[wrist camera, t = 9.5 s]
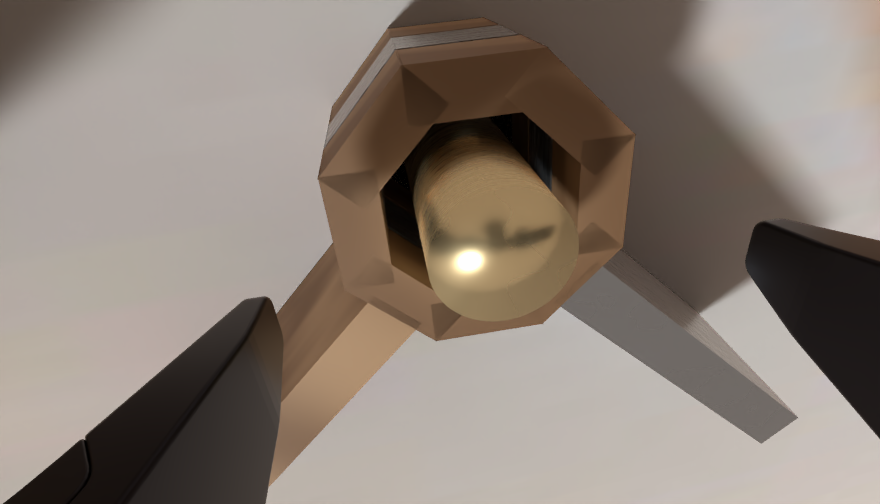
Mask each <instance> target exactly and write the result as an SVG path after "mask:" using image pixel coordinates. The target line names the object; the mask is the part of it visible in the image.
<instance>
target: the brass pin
mask: <svg viewBox="0 0 880 504" xmlns="http://www.w3.org/2000/svg"><path fill="white" fill-rule="evenodd" d="M404 163H405V168H406V173H407V177H408V182H409V187H410V191H411V196H412V201H413V205H414V210H415V215H416V219H417V224H418V229H419V233H420V238H421V243H422V247H423V252H424V257H425V262H426V266H427V271H428V276H429V280H430V283H431V285H432V288H433V290H434V291H435V293H436V295H437V296H438V297H439V299H440V300H441V301H442V302H443V303H444V304H445V305H446V306H447V307H449V308H450V309H451V310H453V311H454V312H456V313H458V314H460V315H462V316H465V317H468V318H471V319H475V320H480V321H504V320H510V319H514V318H518V317H521V316H524V315H526V314H529V313H531V312H533V311H535V310H537V309H538V308H540V307H542V306H543V305H545V304H546V303H547V302H549V301H550V300H551V299H552V298H553V297H555V296H556V295H557V294H558V292H559V291H560V290H561V289H562V288H563V287H564V285H565V284H566V283H567V281H568V280H569V278H570V276H571V274H572V272H573V270H574V267H575V265H576V261H577V258H578V251H579V238H578V233H577V229H576V226H575V223H574V221H573V219H572V218H571V216H570V214H569V213H568V212H567V210H566V209H565V208H564V207H563V205H562V204H561V203H560V202H559V201H558V199H557V198H556V197H555V196H554V195H553V193H552V192H551V191H550V190H549V188H548V187H547V186H546V185H545V184H544V182H543V181H542V180H541V179H540V178H539V176H538V175H537V174H536V173H535V171H534V170H533V169H532V168H531V167H530V165H529V164H528V163H527V162H526V161H525V159H524V158H523V157H522V156H521V155H520V153H519V152H518V151H517V150H516V148H515V147H514V146H513V145H512V144H511V142H510V141H509V140H508V139H507V138H506V136H505V135H504V134H503V133H502V131H501V130H500V129H499V128H498V127H497V125H496V124H495V123H494V122H493V121H492V119H491V118H490V117H482V118H474V119H467V120H459V121H452V122H444V123H437V124H433V125H432V126H431V128H430V129H429V130H428V131H427V133H426V134H425V135H424V136H423V138H422V139H421V140H420V141H419V143H418V144H417V145H416V146H415V148H414V149H413V150H412V151H411V153H410V154H409V155H408V156H407V158H406V159H405V160H404Z"/></svg>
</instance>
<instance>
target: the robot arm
mask: <svg viewBox="0 0 880 504" xmlns="http://www.w3.org/2000/svg"><path fill="white" fill-rule="evenodd" d="M745 264H746V269H747V271H748V273H749V275H750V276H751V278H752V279H753V280H754V282H755V283H756V285H757V286H758V288H759V289H760V291H761V292H762V293H763V295H764V296H765V298H766V299H767V301H768V302H769V304H770V305H771V306H772V308H773V309H774V311H775V312H776V314H777V315H778V317H779V318H780V319H781V321H782V322H783V324H784V325H785V327H786V328H787V329H788V331H789V332H790V333H791V335H792V336H793V337H794V338H795V340H796V341H797V342H798V343H799V345H800V346H801V347H802V348H803V349H804V351H805V352H806V353H807V354H808V355H809V356H810V358H811V359H812V360H813V361H814V362H815V363H816V365H817V366H818V367H819V368H820V369H821V371H822V372H823V373H824V374H825V375H826V376H827V378H828V379H829V380H830V381H831V382H832V383H833V385H834V386H835V387H836V388H837V389H838V390H839V392H840V393H841V394H842V395H843V396H844V398H845V399H846V400H847V401H848V402H849V403H850V405H851V406H852V407H853V408H854V409H855V410H856V412H857V413H858V414H859V415H860V416H861V417H862V419H863V420H864V421H865V422H866V423H867V424H868V426H869V427H870V428H871V429H872V430H873V432H874V433H875V434H876V435H877V436H878V437H879V439H880V241H879V240H874V239H870V238H866V237H861V236H857V235H852V234H848V233H843V232H839V231H835V230H830V229H826V228H821V227H817V226H812V225H808V224H804V223H799V222H795V221H790V220H786V219H774V220H767V221H762V222H759V223H758V224H757V225H756V226H755V227H754V229H753V232H752V236H751V240H750V244H749V248H748V251H747V255H746V260H745ZM283 350H284V340H283V334H282V331H281V328H280V324H279V321H278V318H277V315H276V312H275V309H274V306H273V303H272V301H271V300H270V298H268V297H266V296H264V297H257V298H250V299H246V300H244V301H242V302H241V303H240V304H239V305H237V306H236V307H235V308H234V309H233V310H232V311H230V312H229V313H228V314H227V315H226V316H225V317H223V318H222V319H221V320H220V321H219V322H218V323H216V324H215V325H214V326H213V327H212V328H211V329H209V330H208V331H207V332H206V333H205V334H204V335H202V336H201V337H200V338H199V339H198V340H197V341H195V342H194V343H193V344H192V345H191V346H190V347H188V348H187V349H186V350H185V351H184V352H183V353H181V354H180V355H179V356H178V357H177V358H176V359H174V360H173V361H172V362H171V363H170V364H169V365H167V366H166V367H165V368H164V369H163V370H161V371H160V372H159V373H158V374H157V375H156V376H154V377H153V378H152V379H151V380H150V381H149V382H147V383H146V384H145V385H144V386H143V387H142V388H140V389H139V390H138V391H137V392H136V393H135V394H133V395H132V396H131V397H130V398H129V399H128V400H126V401H125V402H124V403H123V404H122V405H121V406H119V407H118V408H117V409H116V410H115V411H113V412H112V413H111V414H110V415H109V416H108V417H106V418H105V419H104V420H103V421H102V422H101V423H99V424H98V425H97V426H96V427H95V428H94V429H92V430H91V431H90V432H89V433H88V434H87V435H86V436H85V440H84V439H82V440H79V441H78V442H77V443H76V444H75V445H74V446H72V447H71V448H70V449H69V450H68V451H67V452H65V453H64V454H63V455H62V456H61V457H60V458H58V459H57V460H56V461H55V462H54V463H52V464H51V465H50V466H49V467H48V468H46V469H45V470H44V471H43V472H42V473H40V474H39V475H38V476H37V477H36V478H34V479H33V480H32V481H31V482H29V483H28V484H27V485H26V486H25V487H23V488H22V489H21V490H20V491H19V492H17V493H16V494H15V495H13V496H12V497H11V498H10V499H8V500H7V501H6V502H5V503H3V504H265V503H266V498H267V492H268V486H269V481H270V475H271V469H272V464H273V458H274V453H275V447H276V441H277V436H278V429H279V422H280V410H281V391H282V370H283Z"/></svg>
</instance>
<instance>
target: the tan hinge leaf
mask: <svg viewBox="0 0 880 504" xmlns="http://www.w3.org/2000/svg"><path fill="white" fill-rule="evenodd" d="M495 25H498V24H497V23H494V22H492V21H490V20H488V19H486V18H484V17H482V18H474V19H466V20H457V21H449V22H441V23H432V24H424V25H415V26H407V27H398V28H390V29H387V30H386V31H385V33H384V34H383V36H382V37H381V39H380V40H379V41H378V43H377V44H376V46H375V47H374V48H373V50H372V51H371V53H370V54H369V56H368V57H367V58H366V60H365V61H364V63H363V64H362V65H361V67H360V68H359V70H358V71H357V73H356V74H355V75H354V77H353V78H352V80H351V81H350V82H349V84H348V85H347V87H346V88H345V90H344V91H343V92H342V94H341V95H340V97H339V98H338V100H337V101H336V102H335V104H334V105H333V106H332V110H331V115H330V120H329V124H330V123H331V121H332V120H333V119H334V117H335V116H336V114H337V113H338V112H339V110H340V109H341V107H342V106H343V104H344V103H345V102H346V100H347V99H348V97H349V96H350V95H351V93H352V92H353V90H354V89H355V88H356V86H357V85H358V83H359V82H360V81H361V79H362V78H363V76H364V75H365V74H366V72H367V71H368V69H369V68H370V67H371V65H372V64H373V62H374V61H375V60H376V58H377V57H378V55H379V54H380V53H381V51H382V50H383V48H384V47H385V46H386V44H387V43H388V41H389V40H390V38H391V37H392V38H395V37H403V36H412V35H420V34H429V33H437V32H445V31H454V30H462V29H470V28H479V27H487V26H495ZM505 114H512V145H513V146H514V147H515V148H516V150H517V151H518V152H519V153H520V155H521V156H522V157H523V158H524V159H525V161H526V162H527V163H528V164H529V165H530V119H531V120H532V121H533V122H534V123H535V124H537V125H538V126H539V127H540V128H541V129H542V130H543V131H545V132H546V133H547V134H548V135H549V136H550V137H551V138H552V139H553V150H552V191H551V192H552V193H553V195H554V196H555V197H556V198H557V199H558V201H559V202H560V203H561V204H562V205H563V207H564V208H565V209H566V210H567V212H568V213H569V214H570V216H571V218H572V219H573V221H574V223H575V226H576V229H577V233H578V238H579V251H578V258H577V261H576V265H575V267H574V270H573V272H572V274H571V276H570V278H569V280H568V281H567V283H566V284H565V285H564V287H563V288H562V289H561V290H560V291H559V292H558V294H557V295H556V296H555V297H553V298H552V299H551V300H550V301H549V302H547V303H546V304H545V305H543V306H542V307H540V308H538V309H537V310H535V311H533V312H531V313H529V314H526V315H524V316H521V317H518V318H514V319H510V320H504V321H480V320H475V319H471V318H468V317H465V316H462V315H460V314H458V313H456V312H454V311H453V310H451V309H450V308H449V307H447V306H446V305H445V304H444V303H443V302H442V301H441V300H440V299H439V297H438V296H437V295H436V293H435V291H434V290H433V288H432V285H431V283H430V280H429V276H428V271H427V266H426V262H425V257H424V252H423V250H422V249H420V248H418V247H417V246H415V245H414V244H412V243H411V242H409V241H408V240H406V239H404V238H403V237H401V236H400V235H398V234H397V233H395V232H394V231H392V230H390V229H389V228H388V226H387V220H386V214H385V208H384V202H383V196H382V190H381V189H382V188H383V189H384V195H385V197H386V198H387V199H389V200H390V201H392V202H393V203H395V204H396V205H398V206H399V207H401V208H402V209H404V210H405V211H407V212H408V213H410V214H411V215H413V216H414V217H416V215H415V210H414V205H413V201H412V196H411V192H410V191H409V190H407V189H406V188H404V187H403V186H401V185H400V184H399V183H397V182H396V181H394V180H393V179H391V177H392V175H393V174H394V173H395V171H396V170H397V169H398V168H399V166H400V165H401V164H402V163H403V161H404V160H405V159H406V158H407V156H408V155H409V154H410V153H411V151H412V150H413V149H414V148H415V146H416V145H417V144H418V143H419V141H420V140H421V139H422V138H423V136H424V135H425V134H426V133H427V131H428V130H429V129H430V128H431V126H432V125H433V124H437V123H444V122H452V121H459V120H467V119H474V118H482V117H490V116H497V115H505ZM635 136H636V135H635V133H633V132H632V131H631V130H630V129H629V128H628V127H627V126H626V125H625V124H624V123H623V122H622V121H621V120H620V119H619V118H618V117H617V116H616V115H615V114H614V113H613V112H612V111H611V110H610V109H609V108H608V107H607V106H606V105H605V104H604V103H603V102H602V101H601V100H600V99H599V98H598V97H597V96H596V95H595V94H594V93H593V92H592V91H591V90H590V89H589V88H588V87H587V86H586V85H585V84H584V83H583V82H582V81H581V80H580V79H579V78H578V77H576V76H575V75H574V74H573V73H572V72H571V71H570V70H569V69H568V68H567V67H566V66H565V65H564V64H563V63H562V62H561V61H560V60H559V59H558V58H557V57H556V56H555V55H554V54H553V53H552V52H551V51H550V50H549V49H548V47H547V46H544V45H542V44H540V43H538V42H536V41H534V40H531V39H529V38H527V37H525V36H523V35H516V36H508V37H499V38H491V39H483V40H475V41H466V42H458V43H450V44H442V45H434V46H425V47H417V48H409V49H401V50H395V52H394V53H393V54H392V56H391V57H390V58H389V60H388V61H387V63H386V64H385V65H384V67H383V68H382V70H381V71H380V72H379V74H378V75H377V76H376V78H375V79H374V81H373V82H372V83H371V85H370V86H369V87H368V89H367V90H366V92H365V93H364V94H363V96H362V97H361V99H360V100H359V101H358V103H357V104H356V105H355V107H354V108H353V110H352V111H351V112H350V114H349V115H348V117H347V118H346V119H345V121H344V122H343V123H342V125H341V126H340V128H339V129H338V130H337V132H336V133H335V135H334V136H333V137H332V139H331V140H330V141H329V143H328V144H327V146H326V147H325V148H324V150H323V155H322V160H321V165H320V170H319V175H318V180H319V184H320V188H321V193H322V197H323V201H324V205H325V210H326V214H327V218H328V222H329V227H330V231H331V235H332V239H333V244H332V245H331V246H330V247H329V249H328V250H327V251H326V252H325V254H324V255H323V256H322V258H321V259H320V260H319V261H318V263H317V264H316V265H315V266H314V268H313V269H312V270H311V271H310V273H309V274H308V275H307V277H306V278H305V279H304V280H303V282H302V283H301V284H300V285H299V287H298V288H297V289H296V290H295V292H294V293H293V294H292V296H291V297H290V298H289V299H288V301H287V302H286V303H285V304H284V306H283V307H282V308H281V309H280V311H279V312H278V313H277V314H276V315H277V318H278V321H279V324H280V328H281V331H282V334H283V340H284V350H283V370H282V391H281V410H280V422H279V429H278V436H277V441H276V447H275V453H274V458H273V464H272V469H271V475H270V481H269V486H270V485H271V484H272V483H273V482H274V481H275V480H276V479H277V478H278V477H279V476H280V474H281V473H282V472H283V471H284V470H285V469H286V468H287V467H288V466H289V465H290V464H291V463H292V462H293V461H294V459H295V458H296V457H297V456H298V455H299V454H300V453H301V452H302V451H303V450H304V449H305V448H306V447H307V446H308V445H309V443H310V442H311V441H312V440H313V439H314V438H315V437H316V436H317V435H318V434H319V433H320V432H321V431H322V430H323V428H324V427H325V426H326V425H327V424H328V423H329V422H330V421H331V420H332V419H333V418H334V417H335V416H336V415H337V414H338V412H339V411H340V410H341V409H342V408H343V407H344V406H345V405H346V404H347V403H348V402H349V401H350V400H351V399H352V397H353V396H354V395H355V394H356V393H357V392H358V391H359V390H360V389H361V388H362V387H363V386H364V385H365V384H366V383H367V381H368V380H369V379H370V378H371V377H372V376H373V375H374V374H375V373H376V372H377V371H378V370H379V369H380V368H381V366H382V365H383V364H384V363H385V362H386V361H387V360H388V359H389V358H390V357H391V356H392V355H393V354H394V353H395V352H396V350H397V349H398V348H399V347H400V346H401V345H402V344H403V343H404V342H405V341H406V340H407V339H408V338H409V337H410V336H411V334H412V333H413V332H414V331H415V330H417V331H419V332H421V333H423V334H425V335H426V336H428V337H430V338H432V339H434V340H435V341H439V340H445V339H451V338H457V337H463V336H470V335H476V334H482V333H488V332H494V331H500V330H506V329H512V328H519V327H525V326H531V325H537V324H543V323H544V322H545V321H546V320H547V319H548V318H549V317H550V316H551V315H552V314H553V313H554V312H555V311H556V310H557V309H558V308H559V307H560V306H561V305H563V304H564V303H565V302H566V301H567V300H568V299H569V298H570V297H571V296H572V295H573V294H574V293H575V292H576V291H577V290H578V289H579V288H580V287H581V286H582V285H584V284H585V283H586V282H587V281H588V280H589V279H590V278H591V277H592V276H593V275H594V274H595V273H596V272H597V271H598V270H599V269H600V268H601V267H602V266H603V265H605V264H606V263H607V262H608V261H609V260H610V259H611V258H612V257H613V256H614V255H615V254H616V253H617V252H618V251H619V250H620V249H621V248H623V241H624V232H625V223H626V214H627V205H628V196H629V187H630V178H631V169H632V160H633V151H634V142H635ZM579 286H580V287H579ZM571 287H572V288H571ZM570 290H571V291H570ZM572 290H573V291H572ZM569 291H570V292H569ZM563 296H564V297H563ZM567 296H568V297H567ZM269 486H268V487H269Z"/></svg>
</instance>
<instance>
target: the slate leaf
mask: <svg viewBox="0 0 880 504" xmlns="http://www.w3.org/2000/svg"><path fill="white" fill-rule="evenodd" d="M516 35H519V34H518V33H516V32H514V31H512V30H510V29H507V28H505V27H503V26H501V25H495V26H487V27H479V28H470V29H462V30H454V31H445V32H437V33H429V34H420V35H412V36H403V37H395V38H392V37H391V38H390V40H389V41H388V43H387V44H386V46H385V47H384V48H383V50H382V51H381V53H380V54H379V55H378V57H377V58H376V60H375V61H374V62H373V64H372V65H371V67H370V68H369V69H368V71H367V72H366V74H365V75H364V76H363V78H362V79H361V81H360V82H359V83H358V85H357V86H356V88H355V89H354V90H353V92H352V93H351V95H350V96H349V97H348V99H347V100H346V102H345V103H344V104H343V106H342V107H341V109H340V110H339V112H338V113H337V114H336V116H335V117H334V119H333V120H332V121H331V123H330V124H329V125H328V130H327V135H326V140H325V145H324V148H325V147H326V146H327V144H328V143H329V141H330V140H331V139H332V137H333V136H334V135H335V133H336V132H337V130H338V129H339V128H340V126H341V125H342V123H343V122H344V121H345V119H346V118H347V117H348V115H349V114H350V112H351V111H352V110H353V108H354V107H355V105H356V104H357V103H358V101H359V100H360V99H361V97H362V96H363V94H364V93H365V92H366V90H367V89H368V87H369V86H370V85H371V83H372V82H373V81H374V79H375V78H376V76H377V75H378V74H379V72H380V71H381V70H382V68H383V67H384V65H385V64H386V63H387V61H388V60H389V58H390V57H391V56H392V54H393V53H394V52H395V50H401V49H409V48H417V47H425V46H434V45H442V44H450V43H458V42H466V41H475V40H483V39H491V38H499V37H508V36H516ZM552 150H553V139H552V138H551V137H550V136H549V135H548V134H547V133H546V132H545V131H543V130H542V129H541V128H540V127H539V126H538V125H537V124H535V123H534V122H533V121H532V120H531V119H530V167H531V168H532V169H533V170H534V171H535V173H536V174H537V175H538V176H539V178H540V179H541V180H542V181H543V182H544V184H545V185H546V186H547V187H548V188H549V190H550V191H552ZM381 190H382V196H383V202H384V208H385V214H386V220H387V226H388V228H389V229H390V230H392V231H394V232H395V233H397V234H398V235H400V236H401V237H403V238H404V239H406V240H408V241H409V242H411V243H412V244H414V245H415V246H417V247H418V248H420V249H422V250H423V247H422V243H421V238H420V233H419V229H418V224H417V219H416V217H414V216H413V215H411V214H410V213H408V212H407V211H405V210H404V209H402V208H401V207H399V206H398V205H396V204H395V203H393V202H392V201H390V200H389V199H387V198H386V197H385V195H384V189H383V188H382V189H381ZM579 287H580V286H579ZM571 288H572V287H571ZM570 291H571V290H570ZM570 291H569V292H570ZM572 291H573V290H572ZM563 297H564V296H563ZM567 297H568V296H567ZM561 307H562V308H564V309H565V310H566V311H568V312H569V313H571V314H572V315H574V316H575V317H577V318H578V319H580V320H581V321H583V322H584V323H586V324H587V325H588V326H590V327H591V328H593V329H594V330H596V331H597V332H599V333H600V334H602V335H603V336H605V337H606V338H607V339H609V340H610V341H612V342H613V343H615V344H616V345H618V346H619V347H621V348H622V349H624V350H625V351H626V352H628V353H629V354H631V355H632V356H634V357H635V358H637V359H638V360H640V361H641V362H643V363H644V364H646V365H647V366H648V367H650V368H651V369H653V370H654V371H656V372H657V373H659V374H660V375H662V376H663V377H665V378H666V379H667V380H669V381H670V382H672V383H673V384H675V385H676V386H678V387H679V388H681V389H682V390H684V391H685V392H686V393H688V394H689V395H691V396H692V397H694V398H695V399H697V400H698V401H700V402H701V403H703V404H704V405H705V406H707V407H708V408H710V409H711V410H713V411H714V412H716V413H717V414H719V415H720V416H722V417H723V418H725V419H726V420H727V421H729V422H730V423H732V424H733V425H735V426H736V427H738V428H739V429H741V430H742V431H744V432H745V433H746V434H748V435H749V436H751V437H752V438H754V439H755V440H757V441H758V442H760V443H763V442H764V441H766V440H767V439H769V438H770V437H771V436H773V435H774V434H776V433H777V432H778V431H780V430H781V429H783V428H784V427H786V426H787V425H788V424H790V423H791V422H793V421H794V420H796V419H797V418H798V417H797V416H796V415H795V414H794V413H793V412H792V411H791V410H790V409H789V408H788V406H787V405H786V404H785V403H784V402H783V401H782V400H781V399H780V398H779V397H778V396H777V395H776V394H775V393H774V392H773V391H772V390H771V389H770V388H769V387H768V386H767V385H766V383H765V382H764V381H763V380H762V379H761V378H760V377H759V376H758V375H757V374H756V373H755V372H754V371H753V370H752V369H751V368H750V367H749V366H748V365H747V364H746V363H745V362H744V360H743V359H742V358H741V357H740V356H739V355H738V354H737V353H736V352H735V351H734V350H733V349H732V348H731V347H730V346H729V345H728V344H727V343H726V342H725V341H724V340H723V339H722V337H721V336H720V335H719V334H718V333H717V332H716V331H715V330H714V329H713V328H712V327H711V326H710V325H709V324H708V323H707V322H706V321H705V320H704V319H703V318H702V317H701V316H700V314H699V313H698V312H697V311H695V310H694V309H693V308H692V307H691V306H689V305H688V304H687V303H686V302H684V301H683V300H682V299H681V298H680V297H678V296H677V295H676V294H675V293H673V292H672V291H671V290H670V289H669V288H667V287H666V286H665V285H664V284H662V283H661V282H660V281H659V280H657V279H656V278H655V277H654V276H653V275H651V274H650V273H649V272H648V271H646V270H645V269H644V268H643V267H642V266H640V265H639V264H638V263H637V262H635V261H634V260H633V259H632V258H630V257H629V256H628V255H627V254H626V253H624V252H623V251H622V250H621V249H620V250H619V251H618V252H617V253H616V254H615V255H614V256H613V257H612V258H611V259H610V260H609V261H608V262H607V263H606V264H605V265H603V266H602V267H601V268H600V269H599V270H598V271H597V272H596V273H595V274H594V275H593V276H592V277H591V278H590V279H589V280H588V281H587V282H586V283H585V284H584V285H582V286H581V287H580V288H579V289H578V290H577V291H576V292H575V293H574V294H573V295H572V296H571V297H570V298H569V299H568V300H567V301H566V302H565V303H564V304H563V305H561Z"/></svg>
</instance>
